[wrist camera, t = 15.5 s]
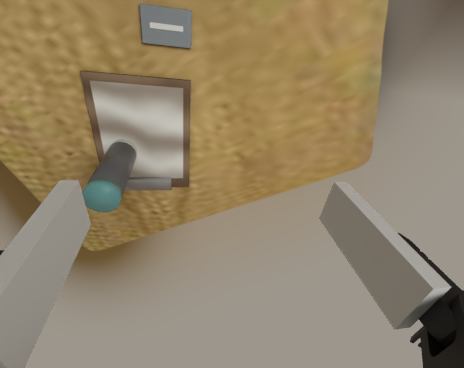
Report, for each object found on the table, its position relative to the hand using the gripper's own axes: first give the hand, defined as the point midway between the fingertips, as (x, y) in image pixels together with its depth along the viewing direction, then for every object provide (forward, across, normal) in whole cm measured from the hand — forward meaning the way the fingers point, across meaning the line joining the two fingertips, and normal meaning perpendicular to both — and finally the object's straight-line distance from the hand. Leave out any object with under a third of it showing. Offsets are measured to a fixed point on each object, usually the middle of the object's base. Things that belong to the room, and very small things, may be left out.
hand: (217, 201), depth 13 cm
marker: (+26, -11, -10) cm, 30 cm away
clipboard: (+27, -8, -8) cm, 29 cm away
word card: (+27, -4, +7) cm, 28 cm away
